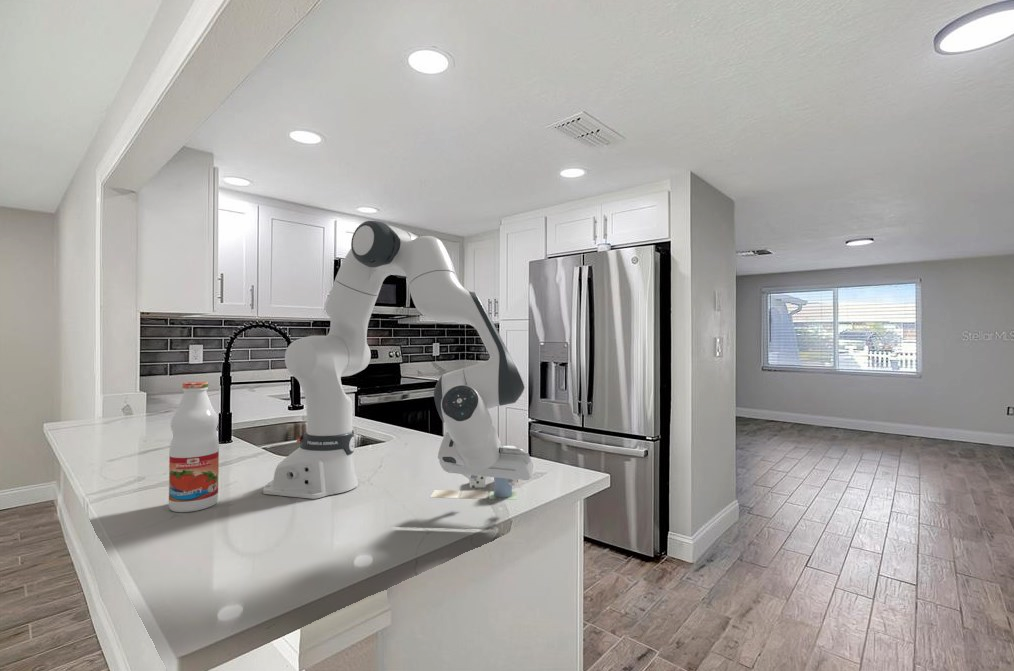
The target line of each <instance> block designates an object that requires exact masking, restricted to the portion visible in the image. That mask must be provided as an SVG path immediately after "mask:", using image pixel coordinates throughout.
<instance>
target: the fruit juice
mask: <svg viewBox="0 0 1014 671" xmlns="http://www.w3.org/2000/svg"><path fill="white" fill-rule="evenodd" d="M181 388H182V391H183V394H182V397H181V399H180V402H179V404H178V407H177V409H176V411H175V412H174V414H173V415H172V417H171V420H170V430H171V432H172V439H171V440H170V443H169V452H168V453H169V457H168V458H169V461H168V462H169V465H168V466H169V467H168V468H169V469H168V470H169V471H168V474H169V475H168V507H169V510H170V511H172V512H174V513H191V512H197V511H201V510H205V509H208V508H211V507H213V506H214V505H216V504H217V502H218V500H219V472H220V471H219V470H220V467H219V466H220V465H219V463H220V462H219V460H220V459H219V458H220V457H219V456H220V455H219V454H220V443H219V437H218V435H217V428H218V425H219V416H218V413H217V412H216V410H215V409H214V407H213V405H212V402H211V400H210V396H209V395H208V392H207V391H208V389H209V382H208V381H190V382H189V381H186V382H183V383H182V387H181Z"/></svg>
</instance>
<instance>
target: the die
mask: <svg viewBox="0 0 1014 671" xmlns="http://www.w3.org/2000/svg"><path fill="white" fill-rule="evenodd" d="M486 477H487V476H477V479H476V482H475V481H469V480H468V481H469V482H468V483H469V489H471V488H473V489H474V488H486Z"/></svg>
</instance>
